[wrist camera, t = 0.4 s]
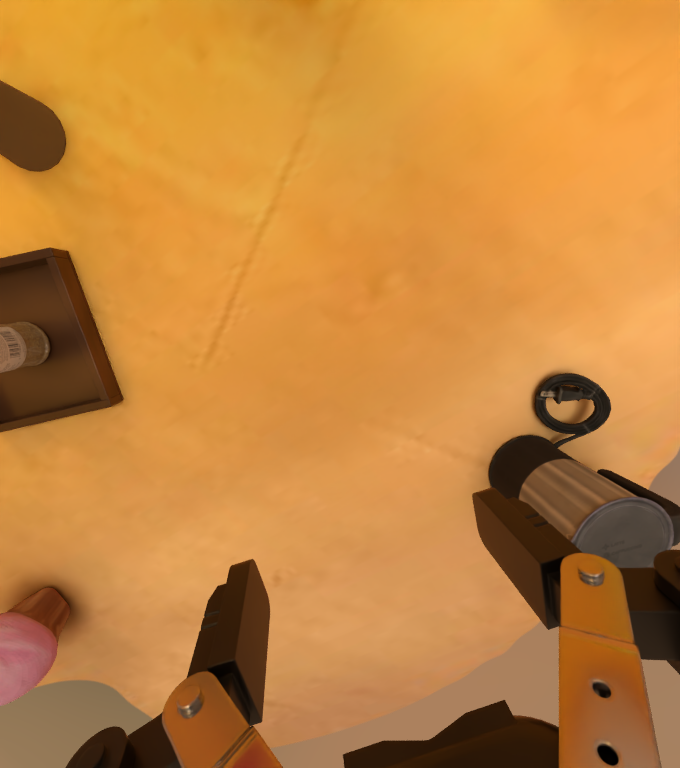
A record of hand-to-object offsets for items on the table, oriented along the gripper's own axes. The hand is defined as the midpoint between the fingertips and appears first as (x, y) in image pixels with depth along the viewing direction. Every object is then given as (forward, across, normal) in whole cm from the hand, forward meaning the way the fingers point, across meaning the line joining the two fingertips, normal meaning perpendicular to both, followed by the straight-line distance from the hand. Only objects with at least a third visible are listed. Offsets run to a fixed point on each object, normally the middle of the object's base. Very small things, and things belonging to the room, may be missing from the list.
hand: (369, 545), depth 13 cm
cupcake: (+29, +38, +19) cm, 52 cm away
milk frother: (+27, -24, +15) cm, 39 cm away
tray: (+30, +28, -11) cm, 42 cm away
